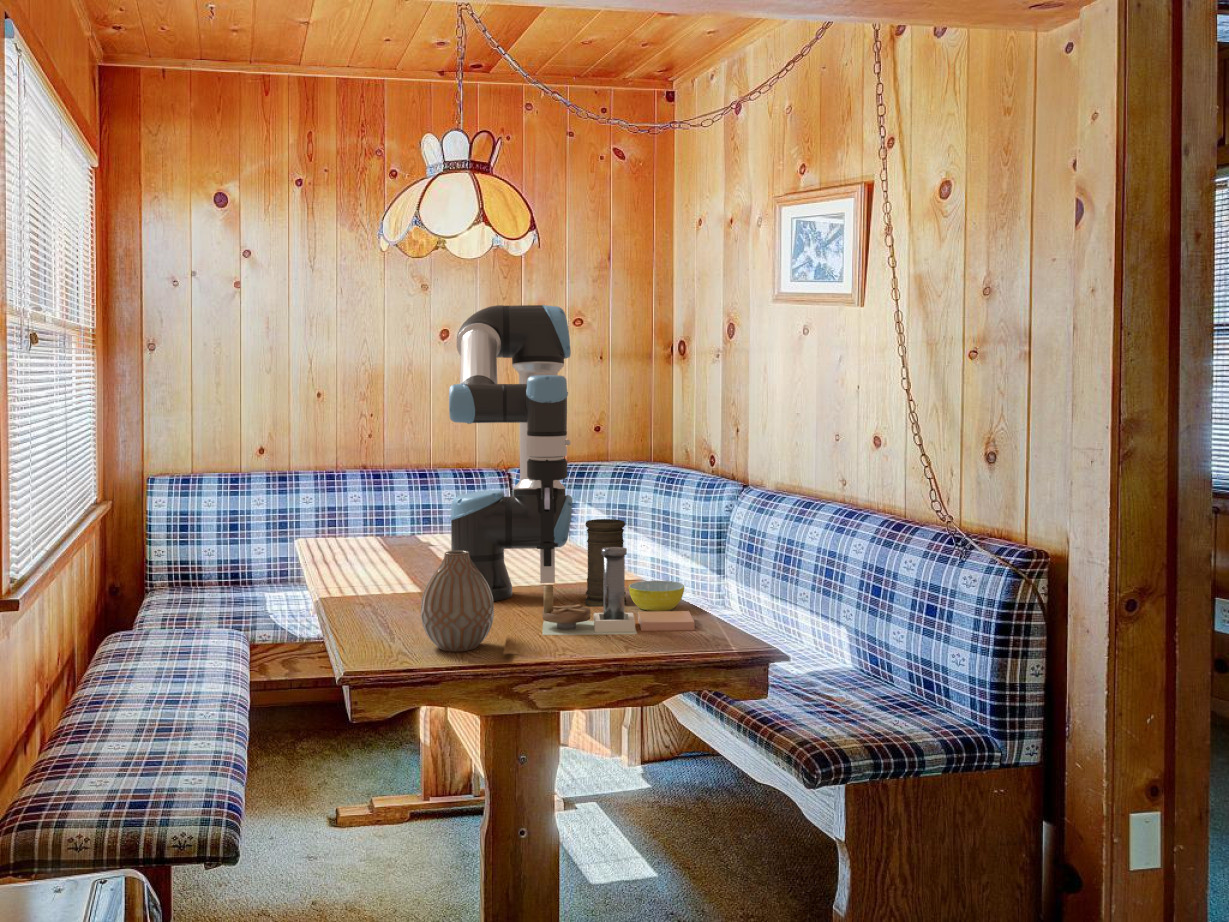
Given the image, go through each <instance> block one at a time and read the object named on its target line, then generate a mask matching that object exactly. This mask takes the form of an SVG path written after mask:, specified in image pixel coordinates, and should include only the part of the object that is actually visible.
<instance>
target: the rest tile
mask: <svg viewBox="0 0 1229 922" xmlns="http://www.w3.org/2000/svg"><path fill="white" fill-rule="evenodd" d="M637 621H638V624H639V627H640V630H641V631H643V632H644V631H646V632H647V631H650V632H651V631H695V620H694V618H693V616H692V614H691V612H690V611H689V610H687V611H686V610H685V611H684V610H681V611H680V610H672V611H671V610H668V611H637Z"/></svg>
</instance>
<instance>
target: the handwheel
mask: <svg viewBox="0 0 1229 922" xmlns="http://www.w3.org/2000/svg"><path fill="white" fill-rule="evenodd" d="M542 620H543V621H548V622H553V623H578V622H584V621H590V620H591V609H590V608H588V607H584V606H582V604H574V605H554V585H552V584H545V585H543V610H542Z"/></svg>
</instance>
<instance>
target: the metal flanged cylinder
mask: <svg viewBox="0 0 1229 922" xmlns="http://www.w3.org/2000/svg"><path fill="white" fill-rule="evenodd" d="M627 553H628V551H627V548H626V547H624V546H623V547H605V548H602V549H601V554H602V555H603V593H604V607H603V613H604V620H625V613H626V612H625V611H626V610H625V609H626V606H625V605H626V604H625V598H626V597H625V595H626V594H625V592H626V588H625V587H626V586H625V585H626V584H625V582H626V581H625V580H626V579H625V576H626V575H625V574H626V573H625V572H626V571H625V568H626V567H625V557H626V555H628V554H627Z"/></svg>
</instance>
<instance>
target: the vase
mask: <svg viewBox="0 0 1229 922" xmlns="http://www.w3.org/2000/svg"><path fill="white" fill-rule="evenodd" d="M494 602H495V601H493V596H492V593H491V590H490V587H489V585H488V583H487V581H486V580H485V578H484V577H483V575H482V574H481V573H480V571H479V570H478V569H477V567H476V566H475V565H474V564H473V562H472V560H471V558H470V555H469V552H468V551H451V550H449V551H445V552H444V557H443V559H442V561H441V563H440V565H439V566H438V567H437V569H436V570H435V572H433V574H432V575H431V577H430V579H429V580H428V582H427V584H426V586H425V589H424V590H423V594H422V597H421V602H420V603H421V604H420V618H421V623H422V626H423V629H424V632H425V635H426V636H427V637H428V639H429V640H430V641H431V642H432V643H433V644H434V645H435V646H436V647H438V649H439V650H442V651H444V652H450V653H451V652H453V653H454V652H456V653H457V652H460V653H461V652H467V651H468V652H469V651H472V650H475V649H476V648H477V647H478V646H480V644H482V642H483V641H484V640H485V639H486V638H487V636H488V635H489V633H490V632H491V628H492V625H493V622H494V618H495V617H494V616H495V604H494Z"/></svg>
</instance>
